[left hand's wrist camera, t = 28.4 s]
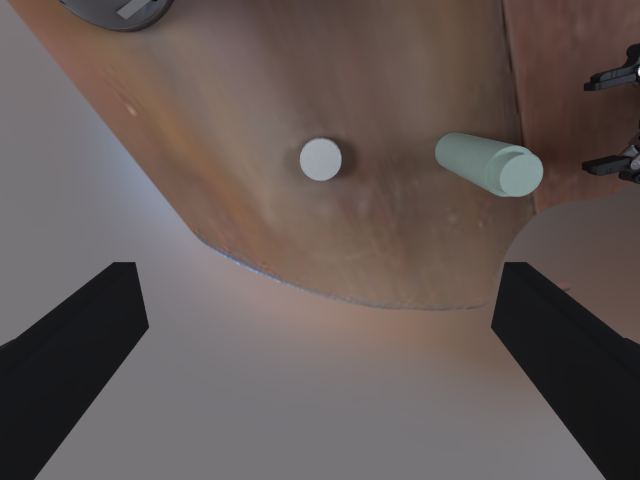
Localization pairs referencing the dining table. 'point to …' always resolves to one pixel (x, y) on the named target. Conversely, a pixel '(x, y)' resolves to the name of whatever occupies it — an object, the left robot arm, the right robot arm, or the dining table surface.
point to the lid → (320, 159)
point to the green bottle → (490, 164)
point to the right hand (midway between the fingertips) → (587, 129)
